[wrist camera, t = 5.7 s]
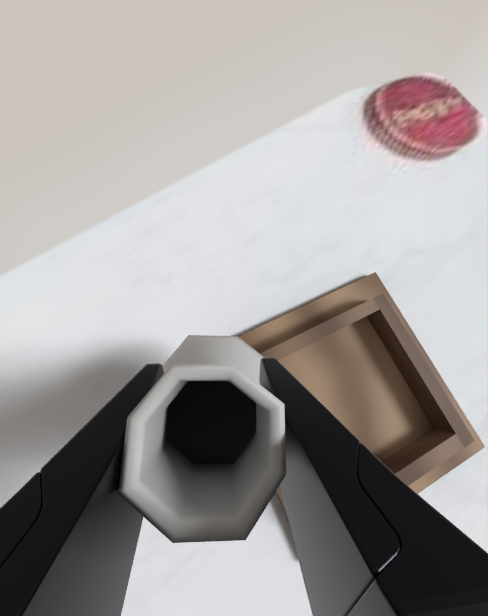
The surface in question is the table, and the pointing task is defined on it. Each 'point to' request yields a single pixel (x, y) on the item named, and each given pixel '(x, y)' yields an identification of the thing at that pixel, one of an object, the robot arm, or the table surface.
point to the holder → (373, 379)
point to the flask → (205, 444)
